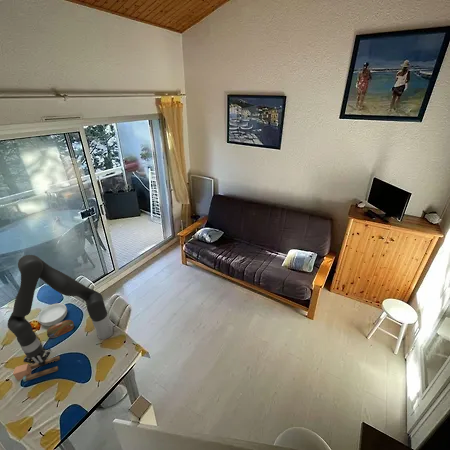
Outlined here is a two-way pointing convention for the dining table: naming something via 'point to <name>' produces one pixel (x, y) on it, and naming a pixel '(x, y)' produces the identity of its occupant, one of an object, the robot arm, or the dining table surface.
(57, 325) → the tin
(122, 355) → the dining table surface
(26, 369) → the block
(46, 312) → the cereal bowl
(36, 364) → the pair of brown rods
